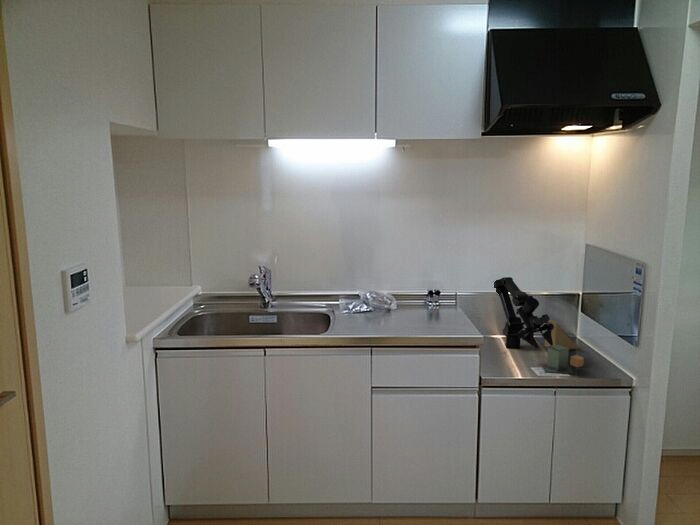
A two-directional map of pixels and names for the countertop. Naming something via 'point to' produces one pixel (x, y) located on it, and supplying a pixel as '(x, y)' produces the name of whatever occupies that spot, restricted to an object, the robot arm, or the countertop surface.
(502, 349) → the countertop surface
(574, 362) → the block
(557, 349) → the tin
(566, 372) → the mat
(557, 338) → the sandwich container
